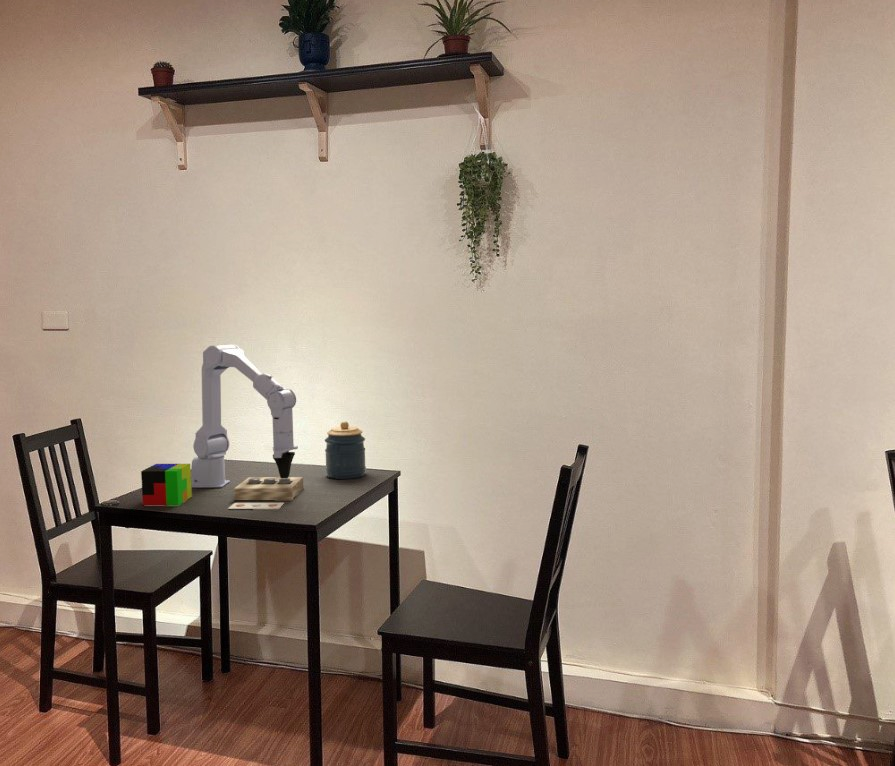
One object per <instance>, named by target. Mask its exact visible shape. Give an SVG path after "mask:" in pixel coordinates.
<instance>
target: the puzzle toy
mask: <svg viewBox="0 0 895 766" xmlns="http://www.w3.org/2000/svg"><path fill="white" fill-rule="evenodd" d="M140 475H141V477H140V479H141V494H142V506H143V505H180V504H181V503H183V502H184V501H186V500H187V499H189V498H190V497H193V492H192V488H193V487H191V486H192V470H191V463H154V464H153V465H151V466H149V467H147V468H145V469H142V470H141V471H140ZM190 499H191V498H190ZM190 499H189V500H190ZM187 501H188V500H187ZM187 501H186V502H187ZM184 503H185V502H184ZM184 503H183V504H184ZM181 505H182V504H181ZM181 505H180V506H181Z"/></svg>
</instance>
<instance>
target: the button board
mask: <svg viewBox="0 0 895 766" xmlns="http://www.w3.org/2000/svg"><path fill="white" fill-rule="evenodd" d="M251 478H259V479H260V484H249V479H251ZM266 478H275V484H264V479H266ZM288 478H290V484H279V479H281V477H280V476H278V477H277V476H275V477H272V476H270V477H269V476H268V477H265V476H263V477H262V476H261V477H259V476H258V477H256V476H255V477H254V476H253V477H250V476H249V477H247V478H246V479H245V480H243V481H242V482H240V483H239V484H238V485H237V486H235V487H234V488H233V497H234V500H275V501H293V500H294V499H295V498H296V497H297V496H298V495H299V494H300V493H301V492H302V491H303V490H304V477H303V476H298V477H297V476H292V477H290V476H289V477H288ZM302 489H303V490H302ZM301 490H302V491H301ZM300 491H301V492H300ZM299 492H300V493H299ZM298 493H299V494H298ZM297 494H298V495H297ZM296 495H297V496H296ZM295 496H296V497H295ZM294 497H295V498H294ZM293 498H294V499H293Z"/></svg>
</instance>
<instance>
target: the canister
mask: <svg viewBox="0 0 895 766" xmlns="http://www.w3.org/2000/svg"><path fill="white" fill-rule="evenodd" d="M326 433H327V435H328V436H327V437H326V438H325V439H324V442H325V443H326V445H325V446H326V447H325V449H324V451H325V475H326V477H327V476H328V477H327V478H329V477H330V479H334V478H335V479H337V480H349V479H357V478H362V477H364V476H365V475H366V472H367V471H366V470H367V469H366V467H367V466H366V448H365V445H364V442H365V441H366V438H365V437H364V436H363V435H362V433H363V430H361V429H359V428H358V427H357V426H350V425H349V422H347V421H345V420H344V421H342V422H340V426H336V427H335V426H334V427H332V428H331V429H330V430H329V431H327V432H326Z"/></svg>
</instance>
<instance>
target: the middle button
mask: <svg viewBox="0 0 895 766" xmlns="http://www.w3.org/2000/svg"><path fill="white" fill-rule="evenodd" d="M264 484H275V478H266V479H264Z"/></svg>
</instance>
